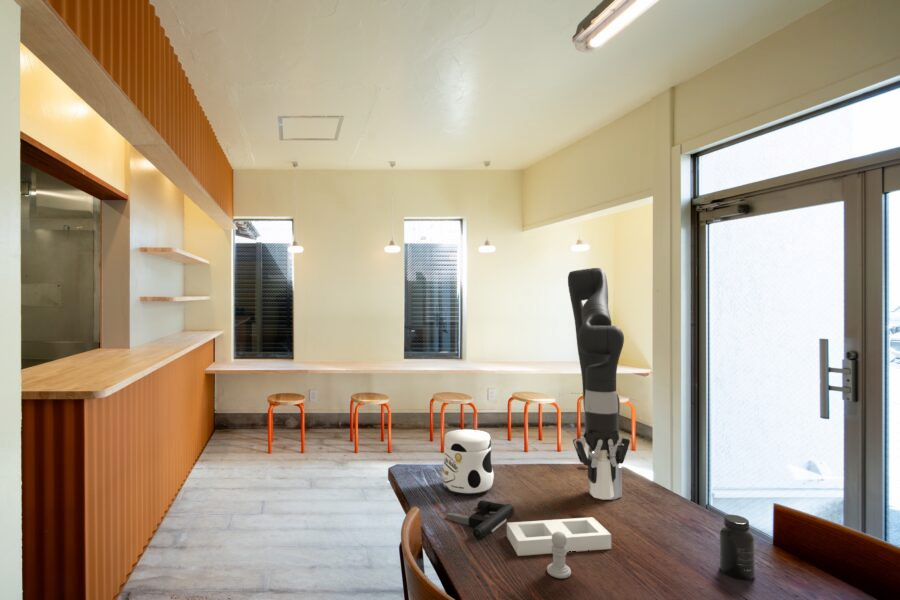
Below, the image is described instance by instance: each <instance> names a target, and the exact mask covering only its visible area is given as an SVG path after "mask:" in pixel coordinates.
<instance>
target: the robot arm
mask: <svg viewBox="0 0 900 600" xmlns="http://www.w3.org/2000/svg"><path fill="white" fill-rule="evenodd" d="M567 286H568V292H569V298H570V303H571V307H572V311H573V313H572V314H573V318H574V327H575V334H576V335H575V336H576V347H577V354H578V357H579V358H578V359H579V366H580V372H581V373H580V374H581V381H582V397H583V398H582V400H583V401H582V402H583V410H584V430H585V431H584V433H583V437H580V438H578V439H577V438H574V439H572V442H573V445H574V449H575V452H576V454H577V457H578V460H579V462H580V463H582V464H583V465H584V466H587V478H588V480H589V481H588V482H589V485H588V490H589V492H588V493H589V495H590V496H592V495H591V494H590V489H591V482H592V483H596V480H597V468H596V463H597V459H598V458H599V454H600V451H601V450H607V459H609V460H610V465H611V476H612V482H613V491H614V497H612V498H611V499H603V500H605V501H607V500H608V501H611V500H612V501H613V500H617V499H619V498H622V497H623V476H622V475H623V474H622V473H623V472H622V471H623V470H622V469H623V468H622V466H621V464H624V462H625V459H626V456H627V452H628V449H629V447H630V443H631V441H630V439H629V438H626V437H625V436H620V409H621V407H620V406H621V405H620V403H621V402H620V397H619V395H618V393H617V370H618V365H619V362H620V361H619V360H620V357H621V354H622V352H623V351H622V350H623V348H624V344H625V335H624V333H623V331H622V329H621V328H620V327H619V326H616V325H612V323H613V322H612V319H611V315H610V311H609V288H608V287H609V286H608V280H607V275H606V272H605V271H604V270H603V269H602V268H600V267H592V268H584V269H578V270H572V271H570V272H568V275H567ZM583 301H585V303H584V304H583ZM586 445H587V446H588V448H587V454H586V450H585V447H586Z"/></svg>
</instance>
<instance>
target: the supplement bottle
mask: <svg viewBox="0 0 900 600" xmlns="http://www.w3.org/2000/svg"><path fill="white" fill-rule="evenodd" d="M723 520H724V521H723V526H722V527H721V528H720V529H719V533H718V534H719V536H718V537H719V540H718V541H719V546H718V547H719V567H720V569H721V571H722V572H723V573H724V574H726V575H728V576H729V577H731V578H734V579H736V580H743V581H749V580H753V578H755V576H756V553H755V551H756V548H755V547H756V545H755V544H756V543H755V537H754V536H753V534H752V533H751V532H750V522H749V520H748V519H747V518H745V517H744V516H741V515H737V514H726V515H724V517H723Z"/></svg>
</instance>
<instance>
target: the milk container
mask: <svg viewBox="0 0 900 600" xmlns="http://www.w3.org/2000/svg"><path fill="white" fill-rule="evenodd" d="M491 454H492V438H491V435H490V434H489V432H486V431H483V430H478V429H476V430H475V429H467V428H466V429H465V428H464V429H454V430H450V431H447V432H446V433H445V435H444V462H443V465H442V470H441V480H442V481H441V482H442V486H443V487H444V488H445V489H446V490H447V491H448V492H451V493H454V494H457V495H465V496H471V495H472V496H473V495H480V494H483V493H486V492H487V491H489V490H490V489H491V488H492V487H493V483H494V475H495V474H494V470H493V466H492V460H491V459H492V455H491Z"/></svg>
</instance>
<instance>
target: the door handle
mask: <svg viewBox="0 0 900 600" xmlns="http://www.w3.org/2000/svg"><path fill="white" fill-rule="evenodd" d="M476 506H477V509H478V510H477V511H476V512H474V513H472V515H466V514H465V515H464V514H460V513H455V512H451V511H449V512H447V513H446V514H445V518H446V520H450V521H452V522H456V523H458V524H463V525H468V527H469V528H473V530H472V535H473V537H474V538H475V539H476V540H479V539H483V538H484V537H485V536H487V535H488V534H489V533H494V531H496V530H497V529H498V528H500V527H501V526H502V525H504V524H505V523H507V519H508V518H509V517H510V516H511V515H514V512H515V508H514V506H513V505H512V504H511V503H506V504H503V503H498V502H492V501H487V500H480V501H478V503H477V505H476ZM488 514H489V516H486V515H488Z"/></svg>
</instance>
